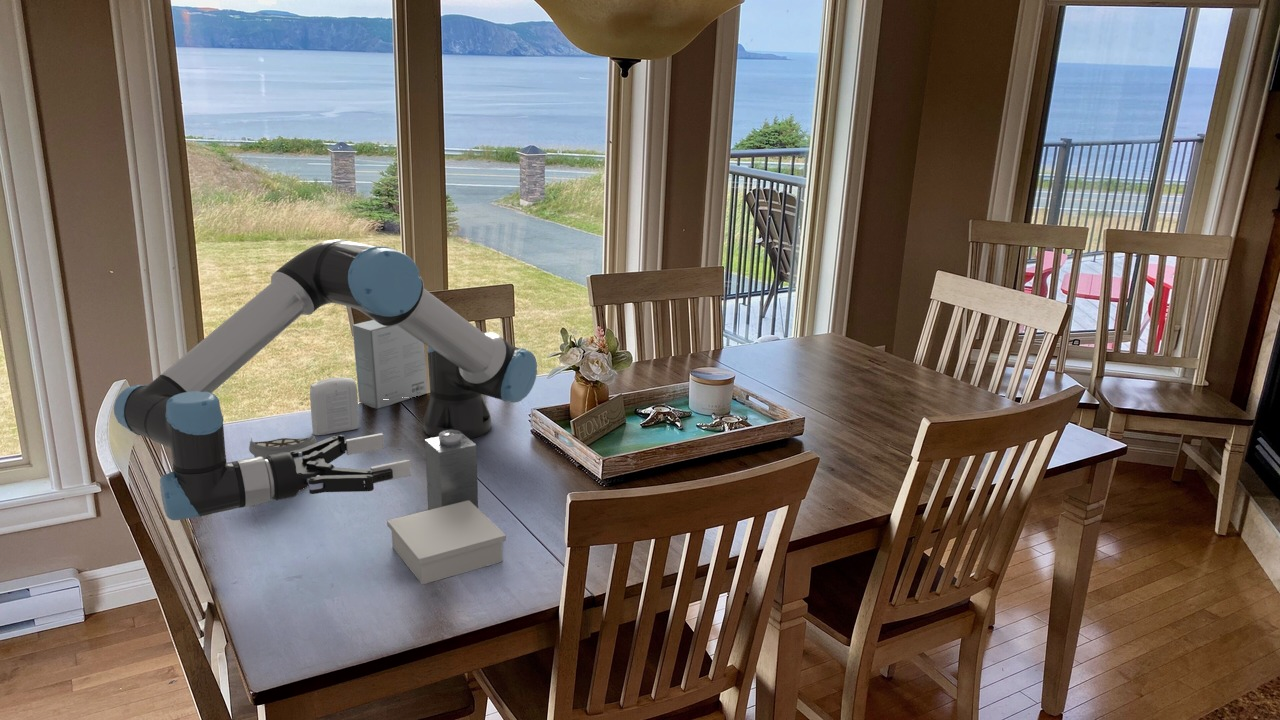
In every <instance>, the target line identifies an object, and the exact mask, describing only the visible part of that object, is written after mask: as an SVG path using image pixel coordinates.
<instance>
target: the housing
mask: <svg viewBox="0 0 1280 720" xmlns="http://www.w3.org/2000/svg"><path fill="white" fill-rule="evenodd" d="M424 447H425V449H424V450H425V452H424V453H425V466H426V467H425V468H426V470H425V471H426V487H427V489H426V493H427V509H428V510H431V509H435V508H439V507H443V506H447V505H452V504H456V503H460V502H464V501H468V500H469V501H471V502H472V503H473V504H474V505H475V506H476V507H477V508H478V509H479V492H478V490H479V489H478V488H479V486H478V483H479V482H478V458H477V457H478V455H477V454H478V453H477V449H478V448H477V444H476V443H475V442H473V441H472V439H471V438H467V437H466V436H465V435H464V434H463V433H461V432H460V431H458V430H445V431H442V432H440V433H439V437H430V438H426V439H424Z"/></svg>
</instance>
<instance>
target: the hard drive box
mask: <svg viewBox="0 0 1280 720" xmlns="http://www.w3.org/2000/svg"><path fill="white" fill-rule="evenodd" d="M351 327H352V336H353V338H352V339H353V347H354V358H355V359H354V360H355V361H354V362H355V371H356V383H357V384H356V385H357V396H358V403H359V404H363V403H364V404H363V405H365V406H368V407H370V408H372V409H375V410H378V409H381V408H384V407H388V406H392V405H394V404H397V403H401V402H403V401H407V400H410V398H411V397H415V398H417V397H416V396H418V397H420V396H422V395H423V396H424V395H426V394H428V383H427V381H428V380H427V367H426V353H425V352H426V351H425V350H426V349H425V344H424V343H423V342H421V341H420V340H418V339H417V338H415V337H414V336H412V335H411V334H409V333H408V332H406V331H405V330H403V329H402V328H400V327H399V326H397V325H395V326H383V325H381V324H379V323H378V322H376V321H375V320H373V319H371V320H367V321H362V322H359V323H355V324H352V326H351ZM402 397H403V398H402ZM404 397H409V398H404ZM383 399H389V400H383ZM411 399H412V398H411Z"/></svg>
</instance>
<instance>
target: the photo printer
mask: <svg viewBox="0 0 1280 720" xmlns="http://www.w3.org/2000/svg"><path fill="white" fill-rule="evenodd" d="M356 383H357V382H356V380H355V379H354V378H351V377H342V376H338V377H329V378H325V379H321V380H319V381H317V382H313V383H312V384H311V385H310V386H309V388H310V390H309V400H310V401H309V402H310V416H311V417H310V418H311V426H312V427H311V429H312V434H313V435H314V436H324V435H330V434H334V433H341V432H347V431H348V432H349V431H352V430H357V429H359V428H360V417H359V395H358V385H357V384H356Z"/></svg>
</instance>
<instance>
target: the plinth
mask: <svg viewBox="0 0 1280 720" xmlns="http://www.w3.org/2000/svg"><path fill="white" fill-rule="evenodd" d="M386 522H387V524H386V525H387V527H388V528H389V529H390V531H391V543H392V549H394V551H395V552H396V554H397V555H398V556H399V557H400V558H401V560H402V561H403V562H404V564H406V566H407V567H408V569H410V571H411V572H412V574H413V575H414V576H415V577H416V579H417V580H418V581H419V582H420V584H421V585H427V584H429V583H433V582H436V581H440V580H444V579H446V578H450V577H452V576H453V577H454V576H457V575H460V574H463V573H467V572H471V571H475V570H478V569H480V568H485V567H487V566H491V565H495V564H498V563H501V562H503V542H506V541H507V535H506V534H505V533H504V532H503V531H502V530H501V529H500V528H499V527H498V526H497V525H496V524H495V523H494V522H493V521H492V520H491V519H489V517H487V516H486V514H484V512H482V511H481V510H480V509H479V507H478V508H477V507H476V506H475V505H474V504H473V503H472V502H471V501H469V500H468V501H464V502H460V503H456V504H452V505H447V506H443V507H439V508H435V509H431V510H429V509H428V510H424V511H420V512H416V513H410V514H407V515H403V516H399V517H396V518H391V519H387V520H386Z"/></svg>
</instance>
